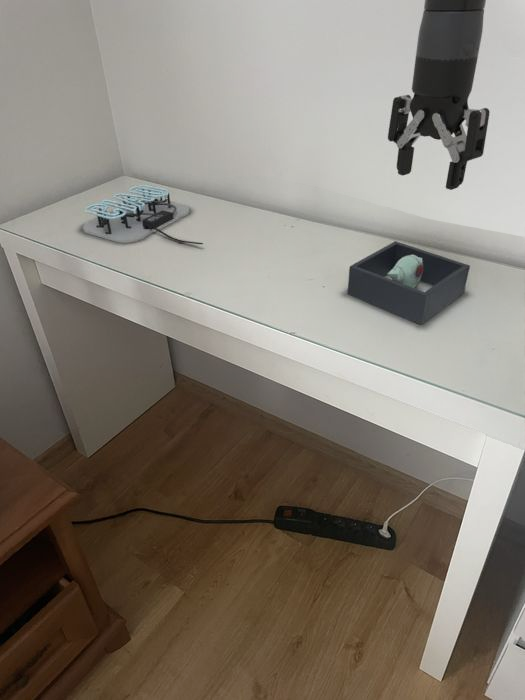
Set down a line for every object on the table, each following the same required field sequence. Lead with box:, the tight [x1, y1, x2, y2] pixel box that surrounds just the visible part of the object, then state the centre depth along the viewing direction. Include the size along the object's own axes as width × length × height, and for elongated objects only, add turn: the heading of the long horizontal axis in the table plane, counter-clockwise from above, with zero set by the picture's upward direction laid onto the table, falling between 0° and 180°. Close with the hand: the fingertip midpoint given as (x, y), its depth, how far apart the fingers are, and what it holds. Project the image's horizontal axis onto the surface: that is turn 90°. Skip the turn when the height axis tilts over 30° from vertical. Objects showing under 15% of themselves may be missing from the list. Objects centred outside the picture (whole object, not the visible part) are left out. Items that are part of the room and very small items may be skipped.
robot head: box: [387, 255, 423, 288], centre depth 83 cm, size 8×4×7 cm, turn 135°
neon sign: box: [82, 184, 204, 245], centre depth 109 cm, size 21×4×29 cm
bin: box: [347, 240, 471, 326], centre depth 83 cm, size 14×13×5 cm
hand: (427, 180), depth 76 cm, fingers open, 8 cm apart
